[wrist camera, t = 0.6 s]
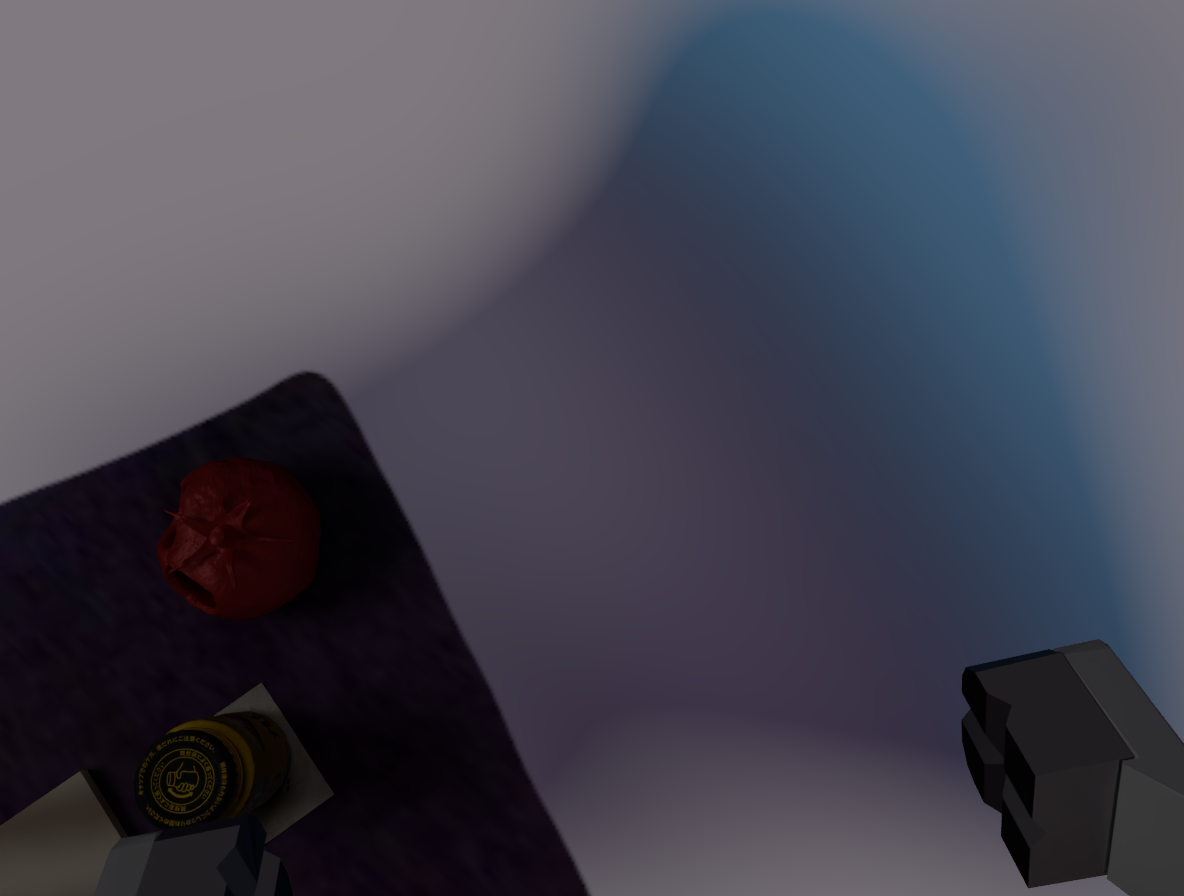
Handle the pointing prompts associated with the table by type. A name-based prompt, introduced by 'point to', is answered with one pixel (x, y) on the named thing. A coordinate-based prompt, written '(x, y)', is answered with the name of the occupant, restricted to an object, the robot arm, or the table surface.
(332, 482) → the table surface
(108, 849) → the board
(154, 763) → the condiment
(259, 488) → the pomegranate
